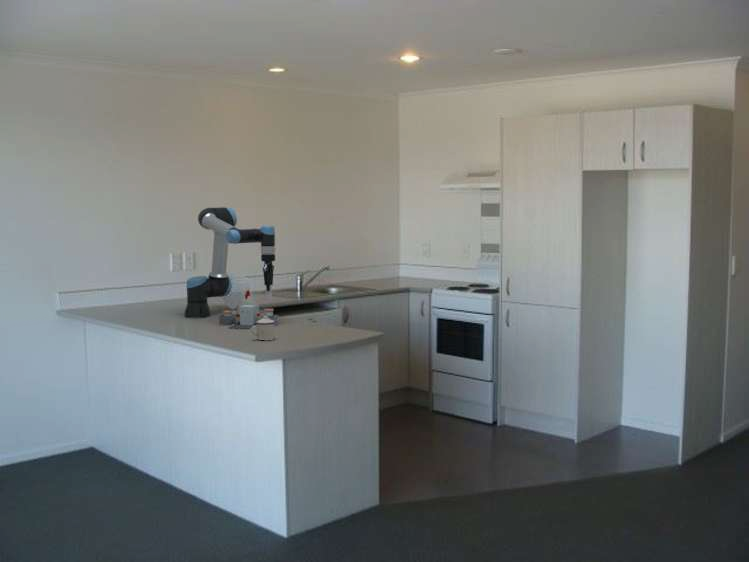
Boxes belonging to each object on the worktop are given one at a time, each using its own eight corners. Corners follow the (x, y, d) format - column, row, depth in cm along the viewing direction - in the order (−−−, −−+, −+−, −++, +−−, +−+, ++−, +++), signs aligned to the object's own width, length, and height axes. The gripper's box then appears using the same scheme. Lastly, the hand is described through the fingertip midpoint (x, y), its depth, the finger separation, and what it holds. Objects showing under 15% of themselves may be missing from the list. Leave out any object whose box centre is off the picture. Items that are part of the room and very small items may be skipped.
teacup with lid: (271, 337, 408) (271, 314, 407) (277, 340, 400) (277, 316, 399) (248, 339, 403) (248, 316, 402) (254, 342, 395) (253, 318, 394)
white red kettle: (262, 314, 489) (261, 289, 487) (256, 317, 475) (256, 292, 473) (239, 314, 490) (238, 289, 488) (233, 317, 476) (232, 292, 475)
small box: (257, 324, 451) (256, 305, 450) (253, 325, 446) (252, 306, 445) (244, 323, 453) (243, 304, 452) (239, 325, 448) (239, 306, 447)
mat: (234, 326, 444) (234, 324, 444) (255, 326, 442) (255, 325, 442) (228, 328, 436) (228, 327, 436) (249, 329, 433) (249, 328, 433)
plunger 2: (266, 318, 450) (266, 308, 449) (274, 319, 449) (274, 308, 449) (263, 320, 445) (263, 309, 445) (272, 320, 444) (272, 309, 444)
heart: (211, 308, 517) (210, 273, 515) (233, 305, 527) (232, 271, 524) (232, 312, 495) (231, 276, 493) (254, 310, 505) (254, 274, 502)
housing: (225, 322, 458) (225, 313, 458) (278, 323, 453) (278, 314, 452) (217, 325, 447) (217, 316, 446) (272, 326, 441) (272, 317, 441)
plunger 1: (225, 320, 454) (225, 310, 454) (233, 320, 454) (233, 310, 453) (222, 322, 450) (221, 311, 449) (230, 322, 449) (230, 311, 448)
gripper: (271, 254, 436) (272, 298, 439) (278, 253, 449) (279, 295, 452) (257, 254, 438) (258, 298, 440) (265, 253, 451) (266, 295, 453)
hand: (269, 296), depth 446 cm, fingers closed
